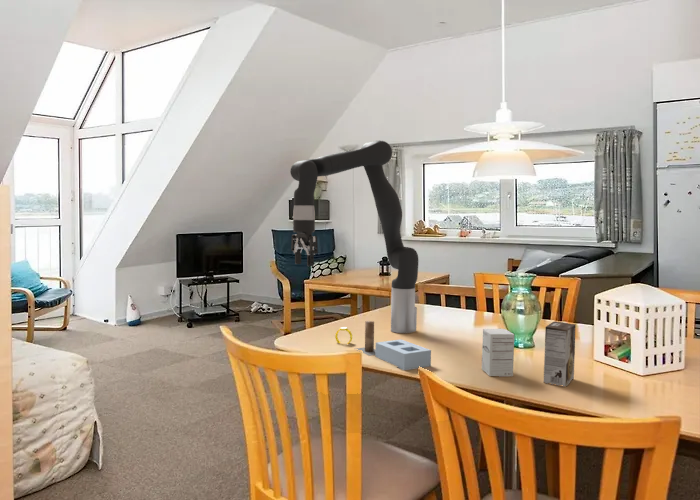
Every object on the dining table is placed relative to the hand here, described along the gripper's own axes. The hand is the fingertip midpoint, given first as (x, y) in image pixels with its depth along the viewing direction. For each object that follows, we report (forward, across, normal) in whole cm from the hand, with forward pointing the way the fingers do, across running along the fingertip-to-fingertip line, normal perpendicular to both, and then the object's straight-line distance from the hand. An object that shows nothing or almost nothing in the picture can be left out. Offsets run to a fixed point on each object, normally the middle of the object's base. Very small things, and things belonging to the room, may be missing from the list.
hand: (304, 265), depth 200 cm
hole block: (+28, -37, -14) cm, 48 cm away
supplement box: (+29, -61, -30) cm, 74 cm away
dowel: (+28, -22, -13) cm, 37 cm away
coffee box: (+29, -76, -39) cm, 90 cm away
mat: (+28, -22, -13) cm, 38 cm away
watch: (+28, -7, -12) cm, 32 cm away
